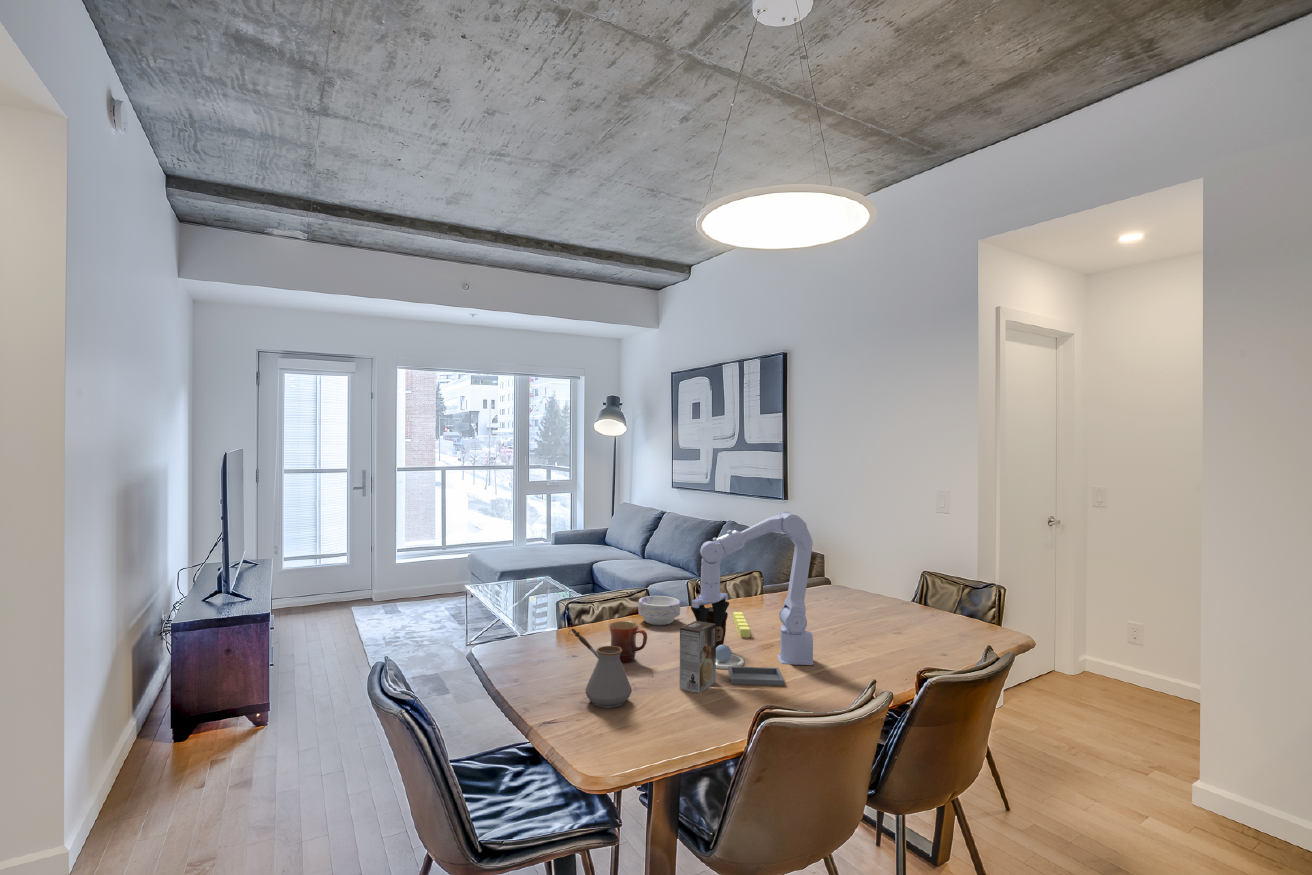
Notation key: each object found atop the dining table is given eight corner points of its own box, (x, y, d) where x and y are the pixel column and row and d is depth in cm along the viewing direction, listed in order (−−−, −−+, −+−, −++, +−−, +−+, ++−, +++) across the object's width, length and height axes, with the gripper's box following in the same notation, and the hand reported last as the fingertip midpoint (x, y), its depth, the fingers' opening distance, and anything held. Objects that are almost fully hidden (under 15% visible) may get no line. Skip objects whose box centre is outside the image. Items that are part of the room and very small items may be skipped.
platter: (703, 641, 214) (703, 631, 214) (698, 616, 246) (698, 607, 246) (801, 643, 214) (801, 633, 214) (783, 618, 246) (783, 609, 246)
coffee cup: (725, 655, 198) (726, 613, 198) (698, 653, 200) (699, 611, 200) (728, 647, 207) (729, 606, 207) (702, 645, 208) (703, 604, 209)
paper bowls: (681, 627, 228) (681, 605, 229) (637, 627, 228) (638, 604, 228) (678, 616, 244) (679, 595, 244) (638, 616, 243) (638, 594, 243)
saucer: (741, 657, 197) (741, 653, 197) (745, 670, 185) (745, 666, 185) (701, 656, 197) (701, 652, 197) (703, 669, 185) (703, 665, 185)
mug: (602, 661, 191) (603, 626, 191) (616, 653, 199) (617, 619, 199) (639, 668, 186) (640, 632, 186) (652, 659, 194) (653, 624, 194)
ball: (730, 659, 194) (730, 642, 194) (732, 664, 189) (732, 647, 189) (713, 658, 194) (714, 642, 194) (714, 664, 189) (715, 647, 189)
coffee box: (695, 678, 178) (696, 619, 178) (716, 683, 175) (717, 623, 175) (678, 688, 170) (679, 627, 171) (700, 694, 167) (701, 631, 167)
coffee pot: (641, 702, 161) (642, 641, 161) (605, 715, 153) (606, 651, 153) (587, 679, 176) (588, 623, 176) (552, 690, 168) (553, 631, 168)
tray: (778, 674, 183) (778, 667, 183) (784, 687, 173) (784, 680, 173) (728, 672, 183) (728, 666, 183) (731, 685, 173) (731, 678, 173)
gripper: (715, 577, 202) (714, 620, 202) (684, 583, 192) (683, 629, 191) (733, 580, 197) (733, 625, 197) (702, 587, 187) (702, 634, 186)
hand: (710, 628), depth 194 cm, fingers open, 7 cm apart
